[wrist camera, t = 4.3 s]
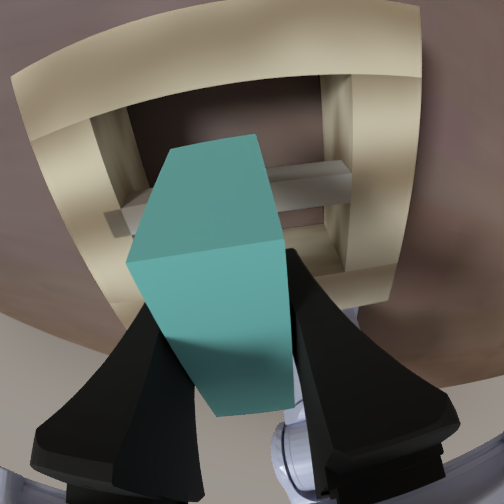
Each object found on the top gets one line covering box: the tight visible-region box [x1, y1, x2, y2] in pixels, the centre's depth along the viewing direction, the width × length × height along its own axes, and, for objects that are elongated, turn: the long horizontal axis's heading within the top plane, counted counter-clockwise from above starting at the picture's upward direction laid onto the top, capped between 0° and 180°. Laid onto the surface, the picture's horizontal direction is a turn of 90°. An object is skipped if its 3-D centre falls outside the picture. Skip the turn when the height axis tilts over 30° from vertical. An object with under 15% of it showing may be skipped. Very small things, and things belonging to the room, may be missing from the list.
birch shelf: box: [11, 0, 422, 330], centre depth 16 cm, size 18×18×5 cm
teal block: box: [125, 134, 295, 417], centre depth 10 cm, size 8×3×6 cm, turn 7°
